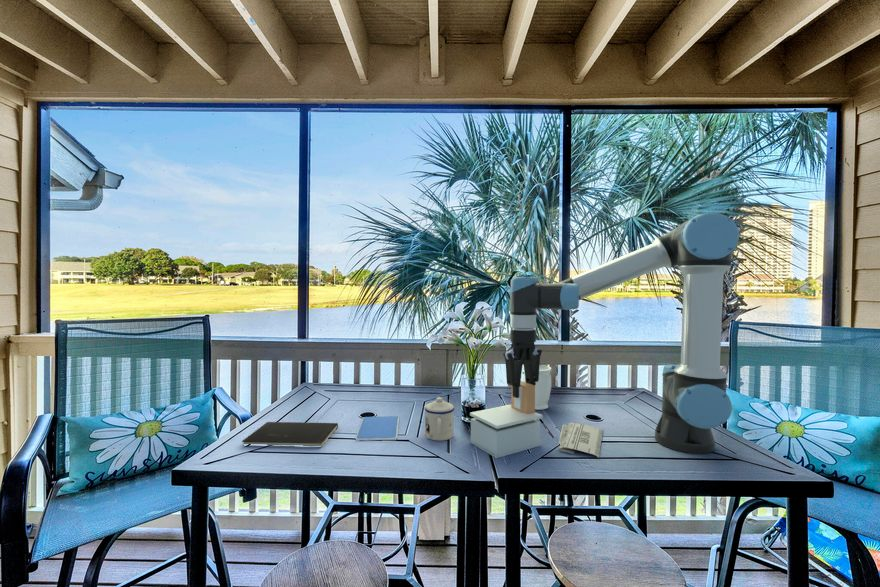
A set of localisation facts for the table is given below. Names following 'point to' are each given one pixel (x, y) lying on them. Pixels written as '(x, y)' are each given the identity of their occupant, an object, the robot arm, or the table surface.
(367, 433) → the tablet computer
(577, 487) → the table surface
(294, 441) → the hardcover book
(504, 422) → the lid
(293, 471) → the table surface
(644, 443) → the table surface
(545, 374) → the jar
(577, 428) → the newspaper
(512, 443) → the parts tub
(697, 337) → the robot arm
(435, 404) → the teacup with lid
